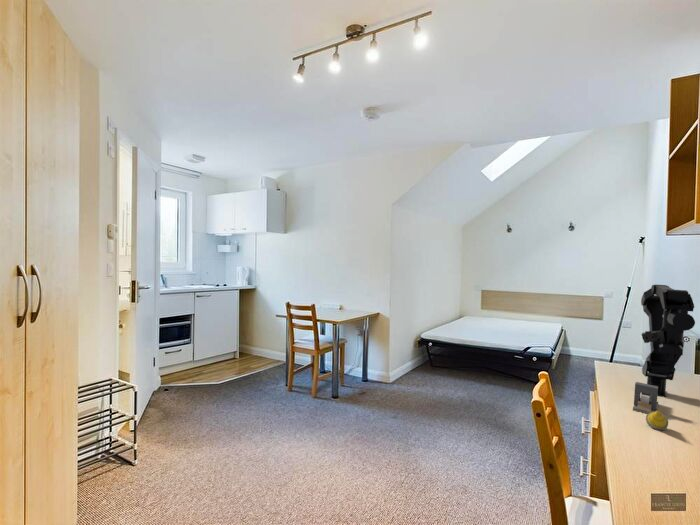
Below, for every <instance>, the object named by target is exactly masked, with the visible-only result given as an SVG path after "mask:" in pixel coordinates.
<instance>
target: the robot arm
mask: <svg viewBox="0 0 700 525" xmlns="http://www.w3.org/2000/svg"><path fill="white" fill-rule="evenodd" d="M640 304H641V307H642V309H643V312H644V314H646V315H647V317H648V327H649V330H648V331H645V332H642V333H641V338H642V340H643V342H644V344H648V343H649V345H650V353H649V354H648V355H647V357H646V358H645V361H644V363H643V365H642V368H641V373H642V374H643V376H644V377H647V379H646V384H649V385H654V386H658V396H661V397H665V398H666V397H667V395H668V391H667V390H666V389H667V380H668V381H674V376H675V373H676V367H675V366H676V364H677V363H678V362H679V360H680V359H681V356H683V354H684V353H683V352H684V345H685V341H684V335H685V334H684V331H685V332H686V331H689V330H691V329H693V328H694V327H695V325H696V320H695V318H694V316H692V315H691V314H689V312H691V313H692V312H694V308H695V304H694V301H693V297H692V295H691V294H690V293H689V291H688V290H683V289H675V288H671V287H670V285H667V284H652V285H651V287H650V288H649V289H648V290H645V291H644V292H643V294H642V296H641V299H640Z"/></svg>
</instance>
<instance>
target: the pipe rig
mask: <svg viewBox="0 0 700 525" xmlns="http://www.w3.org/2000/svg"><path fill="white" fill-rule="evenodd" d="M651 397H652V395H649V394H644V393H640V399H641V402H640V401H638V406H636V405H634V404H633V407H632V411H634V412H637V413H642V414H646V415H647V414H648V413H649V412H654V411H655V412H656V411H658V410H657V409H658V406H659V401H657V408H656V410H652V409H651V406H652V404H649V402H651Z"/></svg>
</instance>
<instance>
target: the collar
mask: <svg viewBox="0 0 700 525" xmlns="http://www.w3.org/2000/svg"><path fill="white" fill-rule="evenodd" d="M641 393H644V394H649V395H652V397H651V402H649V404H652V406H651V409H652V410H656V408H657V409H658V407H657V402H658V396H659V395H658V386H654V385H649V384H647V383H644V382H638V381H635V384H634V396H633V406H634V405H636V406H638V401H640V402H641V399H640V398H641Z"/></svg>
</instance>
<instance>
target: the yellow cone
mask: <svg viewBox="0 0 700 525" xmlns="http://www.w3.org/2000/svg"><path fill="white" fill-rule="evenodd" d="M645 421H646V423H647V425H648V426H649V427H650V428H651V429H653V430H656V431H663V430H665V429H667V428H668V427H669V420H668V418H667V416H666V415H665V414H664V413H662V412H660V410H657V411H656V412H655V411H654V412H649V413H648V414H646V416H645Z"/></svg>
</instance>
